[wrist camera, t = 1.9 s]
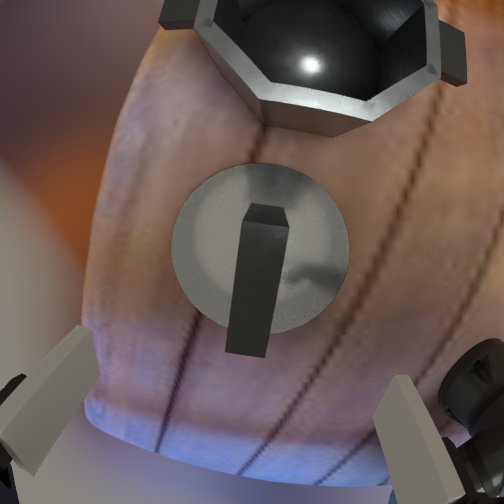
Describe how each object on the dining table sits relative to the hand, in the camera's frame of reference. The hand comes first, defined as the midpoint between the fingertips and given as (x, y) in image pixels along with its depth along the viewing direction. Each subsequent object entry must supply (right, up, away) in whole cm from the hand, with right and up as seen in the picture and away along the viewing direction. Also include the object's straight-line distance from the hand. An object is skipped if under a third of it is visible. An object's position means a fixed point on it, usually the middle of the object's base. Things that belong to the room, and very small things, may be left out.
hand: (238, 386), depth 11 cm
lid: (+1, +6, +20) cm, 21 cm away
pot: (+6, +25, +14) cm, 30 cm away
